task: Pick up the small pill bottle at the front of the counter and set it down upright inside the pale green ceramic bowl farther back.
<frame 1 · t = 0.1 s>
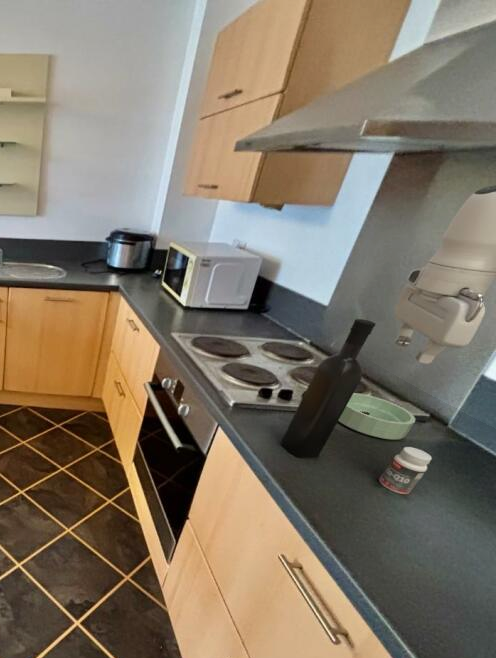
hand: (410, 353, 81), 24 cm above the counter, tool pointing down, fingers open, 8 cm apart
bowl: (365, 424, 103), on the counter
wine bottle: (298, 451, 91), on the counter
pill bottle: (393, 487, 82), on the counter
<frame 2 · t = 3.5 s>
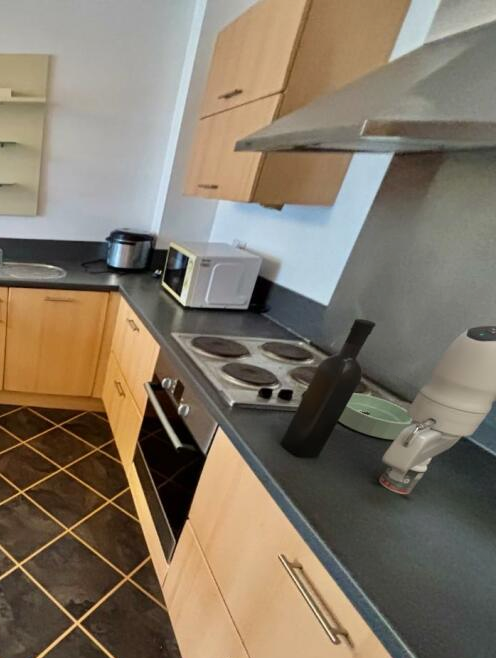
hand: (402, 474, 81), 3 cm above the counter, tool pointing down, fingers closed on pill bottle, 5 cm apart
pill bottle: (393, 487, 82), on the counter, touching gripper
everything else where it was.
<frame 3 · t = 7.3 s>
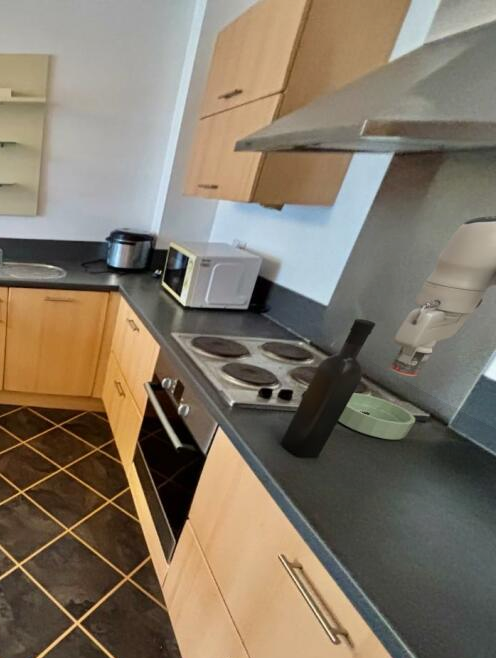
hand: (410, 359, 92), 19 cm above the counter, tool pointing down, fingers closed on pill bottle, 5 cm apart
pill bottle: (402, 373, 94), point 16 cm above the counter, touching gripper
everything else where it was.
when the fingers open (4 cm above the counter, at t = 11.4 s): pill bottle stays where it is, resting on bowl.
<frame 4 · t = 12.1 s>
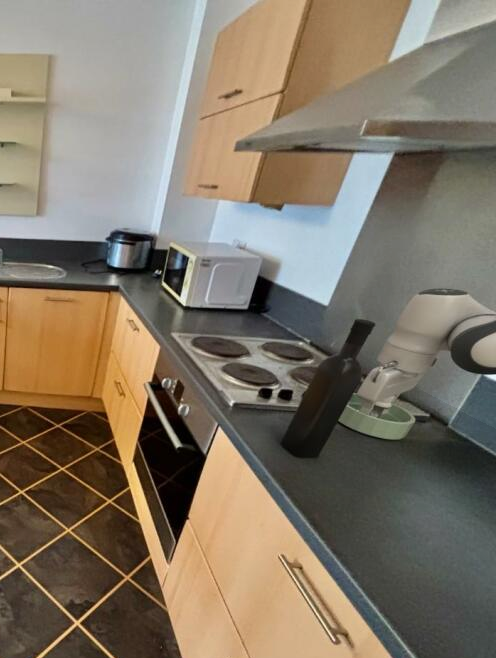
hand: (374, 409, 101), 4 cm above the counter, tool pointing down, fingers open, 8 cm apart
pill bottle: (366, 422, 103), resting on bowl
everything else where it was.
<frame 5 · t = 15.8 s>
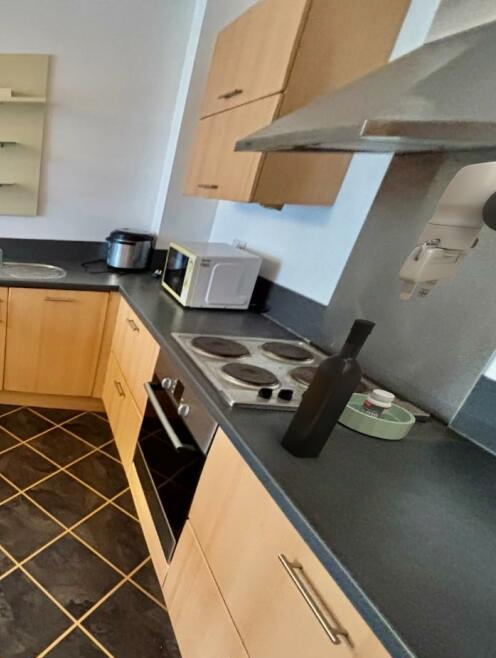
hand: (413, 297, 101), 29 cm above the counter, tool pointing down, fingers open, 8 cm apart
nothing on the counter moved.
at the end: pill bottle inside the target area in the bowl (0.0 cm from its centre), point 0.4 cm above the bowl's base; pill bottle tilted 0°; the gripper is holding nothing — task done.
